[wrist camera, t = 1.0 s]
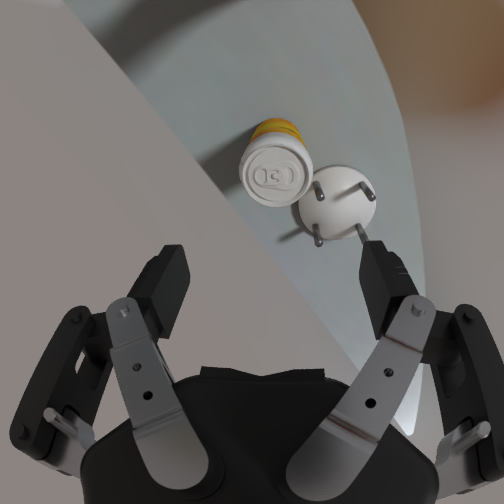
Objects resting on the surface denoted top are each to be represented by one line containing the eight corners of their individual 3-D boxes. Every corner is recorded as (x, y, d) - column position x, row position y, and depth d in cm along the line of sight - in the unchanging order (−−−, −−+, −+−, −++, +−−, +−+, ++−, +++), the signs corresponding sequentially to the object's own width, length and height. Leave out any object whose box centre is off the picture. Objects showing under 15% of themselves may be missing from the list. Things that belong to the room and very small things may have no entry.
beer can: (300, 162, 35) (313, 212, 22) (254, 162, 35) (239, 211, 23) (300, 117, 31) (316, 139, 19) (252, 117, 32) (234, 140, 20)
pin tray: (297, 165, 35) (300, 179, 30) (376, 166, 34) (391, 180, 29) (298, 236, 41) (300, 258, 36) (369, 235, 40) (379, 257, 35)
